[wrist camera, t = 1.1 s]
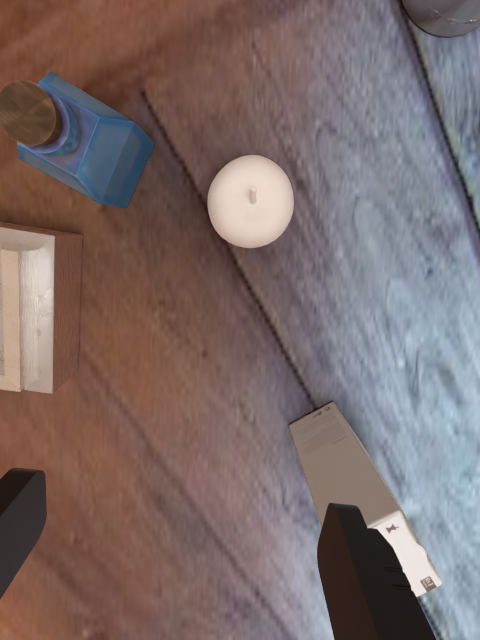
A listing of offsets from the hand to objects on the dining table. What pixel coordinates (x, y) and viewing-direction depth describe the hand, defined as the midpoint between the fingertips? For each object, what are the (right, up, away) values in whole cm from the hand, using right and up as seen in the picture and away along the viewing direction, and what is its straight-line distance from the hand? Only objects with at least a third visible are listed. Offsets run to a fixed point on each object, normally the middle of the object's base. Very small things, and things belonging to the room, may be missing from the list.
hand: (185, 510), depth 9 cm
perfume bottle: (-10, +20, +20) cm, 30 cm away
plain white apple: (+2, +16, +22) cm, 27 cm away
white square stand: (-21, +8, +23) cm, 33 cm away
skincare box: (+12, -8, +28) cm, 32 cm away
